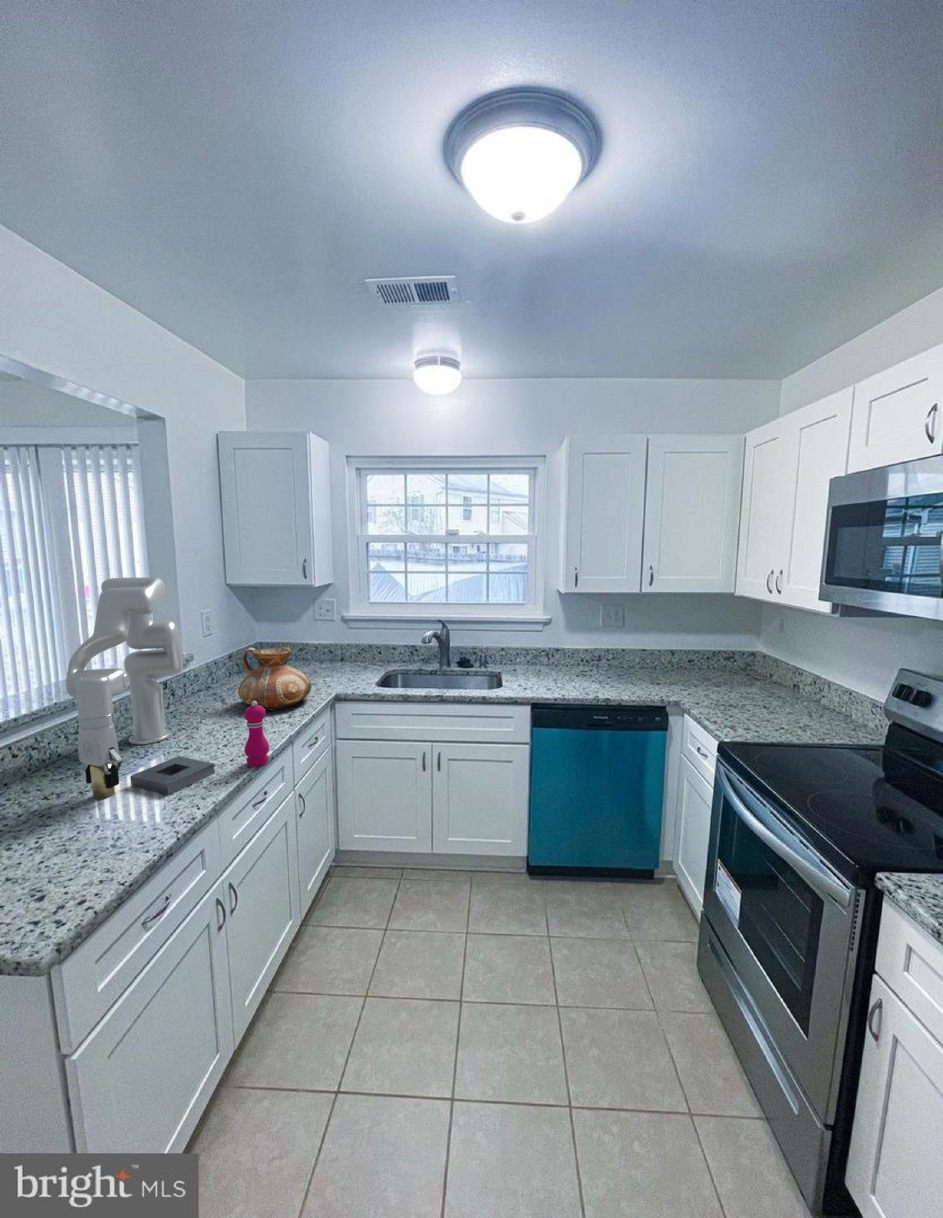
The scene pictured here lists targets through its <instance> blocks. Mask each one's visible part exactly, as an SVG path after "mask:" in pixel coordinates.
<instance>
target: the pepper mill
mask: <svg viewBox="0 0 943 1218" xmlns="http://www.w3.org/2000/svg"><path fill="white" fill-rule="evenodd" d="M251 705H252V706H250V705H249V707H247V708H246V709H245V710H244V715H243V716H244V719H245V720H246V727H247V728H248V738H247V741H246V743H245V745H244V751H243V752H244V755H245V756H246V757H247V758H246V765H247V767H250V768H251V767H252V768H253V767H254V768H255V767H261V766H263V765H267V763H268V762H269V755H268V753H269V751H270V745H269V742H268V740H267V738H266V736H265V734H264V728H263V727H264V726H265V720H264V718H265V717H266V710H264V708H263V707H262V706H259V705H257V702H256V701H253V702H252V703H251Z"/></svg>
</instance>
